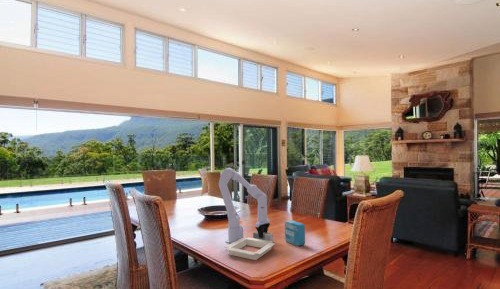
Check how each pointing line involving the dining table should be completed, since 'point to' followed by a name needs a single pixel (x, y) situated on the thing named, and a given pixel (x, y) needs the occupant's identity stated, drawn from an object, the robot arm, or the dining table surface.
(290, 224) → the data package
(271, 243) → the cream square frame
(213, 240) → the dining table surface
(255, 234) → the box
